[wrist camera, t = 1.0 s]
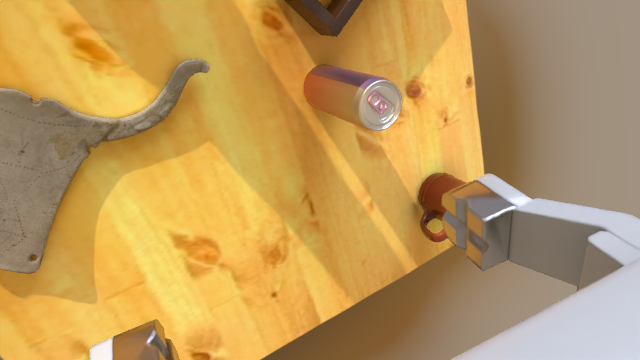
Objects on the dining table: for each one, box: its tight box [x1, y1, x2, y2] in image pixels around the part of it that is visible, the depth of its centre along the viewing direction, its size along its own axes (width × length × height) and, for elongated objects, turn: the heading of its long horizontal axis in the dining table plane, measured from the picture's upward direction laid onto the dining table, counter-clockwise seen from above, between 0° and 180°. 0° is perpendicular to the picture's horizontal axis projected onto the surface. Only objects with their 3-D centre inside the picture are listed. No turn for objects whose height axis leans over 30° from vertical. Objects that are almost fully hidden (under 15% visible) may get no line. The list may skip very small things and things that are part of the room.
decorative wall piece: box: [0, 59, 210, 274], centre depth 47 cm, size 30×3×30 cm
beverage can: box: [304, 65, 402, 131], centre depth 55 cm, size 6×6×15 cm
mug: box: [418, 173, 466, 242], centre depth 72 cm, size 12×9×10 cm
